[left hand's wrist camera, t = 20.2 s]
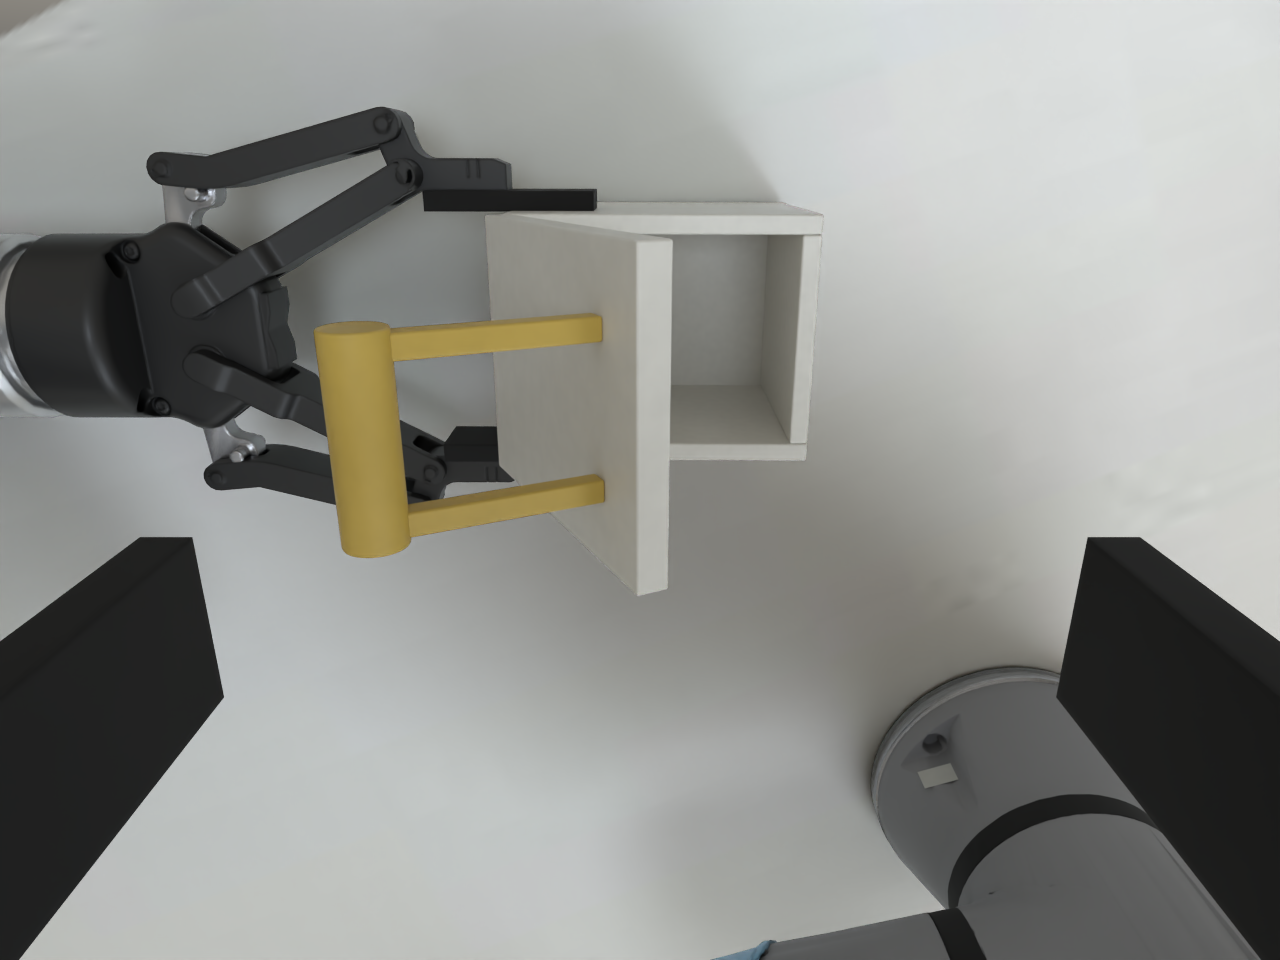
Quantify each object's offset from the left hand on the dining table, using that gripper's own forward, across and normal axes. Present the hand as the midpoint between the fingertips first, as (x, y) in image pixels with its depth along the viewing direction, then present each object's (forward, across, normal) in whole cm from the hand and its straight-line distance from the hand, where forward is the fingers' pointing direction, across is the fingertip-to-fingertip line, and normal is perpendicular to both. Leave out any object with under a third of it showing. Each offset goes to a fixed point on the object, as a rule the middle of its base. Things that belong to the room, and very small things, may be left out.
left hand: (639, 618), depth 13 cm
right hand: (+24, -2, 0) cm, 24 cm away
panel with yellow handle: (+15, -2, 0) cm, 16 cm away
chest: (+31, +1, 0) cm, 32 cm away
